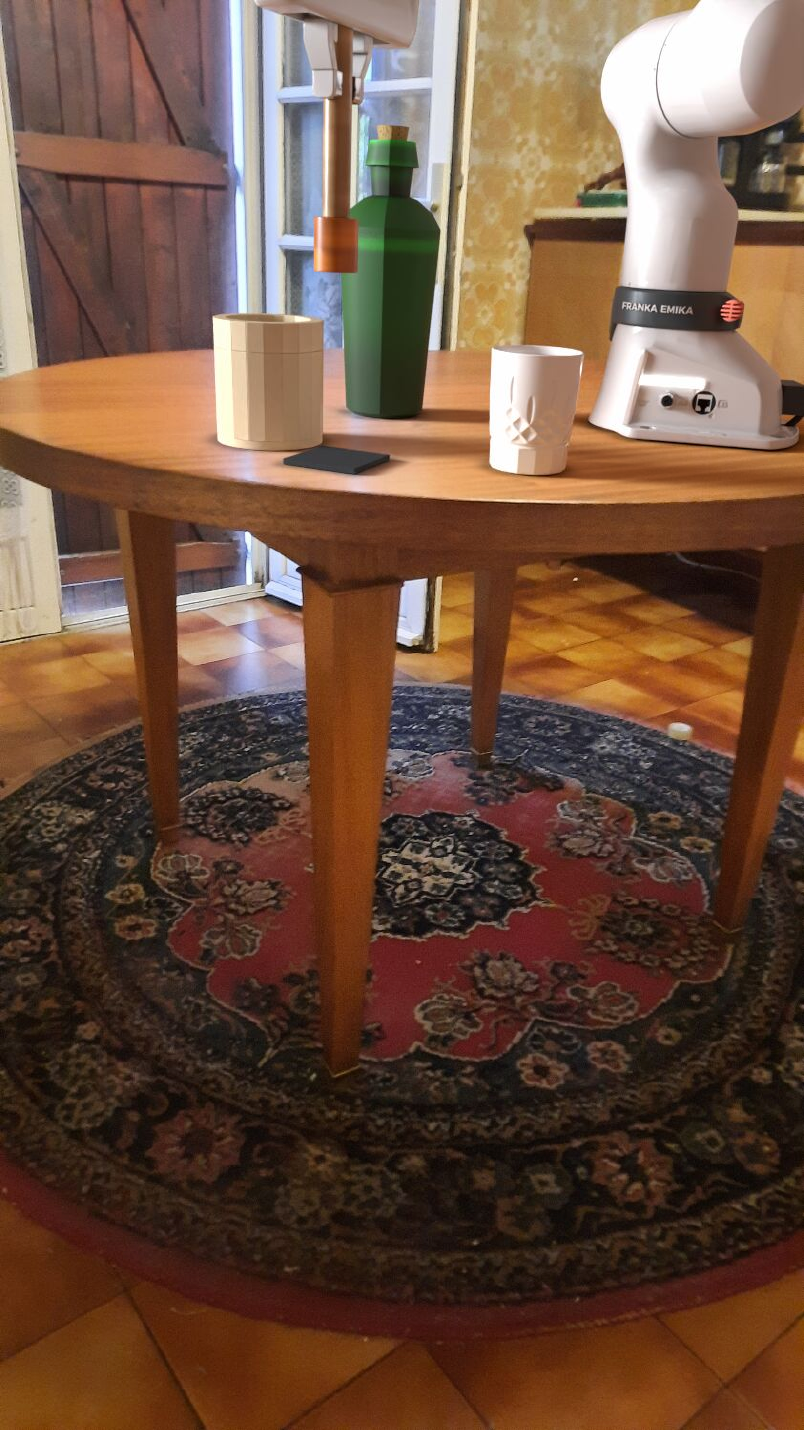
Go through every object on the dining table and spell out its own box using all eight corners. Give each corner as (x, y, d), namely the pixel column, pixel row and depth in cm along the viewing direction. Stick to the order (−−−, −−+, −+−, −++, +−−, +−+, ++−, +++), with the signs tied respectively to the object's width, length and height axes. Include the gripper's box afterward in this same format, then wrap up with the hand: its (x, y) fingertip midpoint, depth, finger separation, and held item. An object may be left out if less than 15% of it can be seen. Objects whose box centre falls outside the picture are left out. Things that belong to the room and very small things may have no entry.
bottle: (434, 408, 119) (448, 133, 107) (427, 423, 109) (442, 124, 97) (343, 402, 120) (348, 129, 108) (329, 418, 110) (332, 119, 98)
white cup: (502, 478, 87) (512, 355, 83) (470, 459, 94) (478, 344, 89) (586, 476, 89) (600, 356, 85) (549, 457, 96) (560, 345, 92)
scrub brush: (365, 272, 85) (370, 29, 77) (344, 273, 82) (348, 20, 74) (327, 270, 86) (329, 30, 79) (305, 271, 83) (306, 22, 76)
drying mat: (390, 460, 92) (390, 454, 92) (354, 474, 86) (354, 468, 86) (321, 451, 94) (322, 445, 94) (283, 464, 89) (282, 458, 88)
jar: (340, 438, 100) (342, 319, 96) (288, 455, 92) (287, 325, 87) (254, 426, 104) (251, 311, 99) (196, 442, 96) (190, 317, 91)
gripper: (307, -178, 63) (307, 83, 69) (437, -89, 80) (428, 115, 86) (221, -168, 65) (228, 84, 71) (365, -83, 82) (361, 115, 88)
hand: (338, 101), depth 79 cm, fingers closed on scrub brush, 2 cm apart
